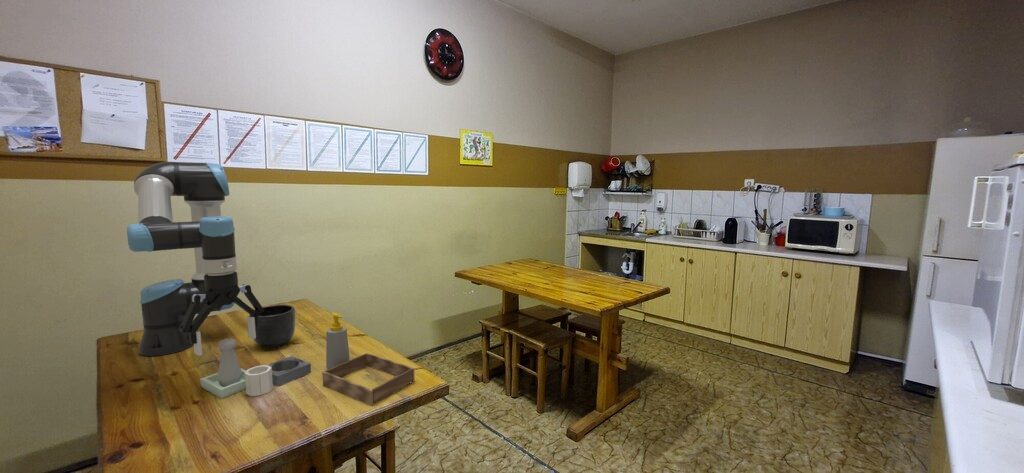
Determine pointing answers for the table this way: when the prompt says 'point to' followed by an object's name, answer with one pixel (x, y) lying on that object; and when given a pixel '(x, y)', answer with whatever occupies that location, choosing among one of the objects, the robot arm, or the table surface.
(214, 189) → the robot arm
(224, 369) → the salt shaker
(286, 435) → the table surface
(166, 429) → the table surface
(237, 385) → the mint green tray
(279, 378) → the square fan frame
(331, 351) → the soap bottle
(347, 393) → the book tray
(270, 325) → the planter
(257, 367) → the octagonal gray cup
